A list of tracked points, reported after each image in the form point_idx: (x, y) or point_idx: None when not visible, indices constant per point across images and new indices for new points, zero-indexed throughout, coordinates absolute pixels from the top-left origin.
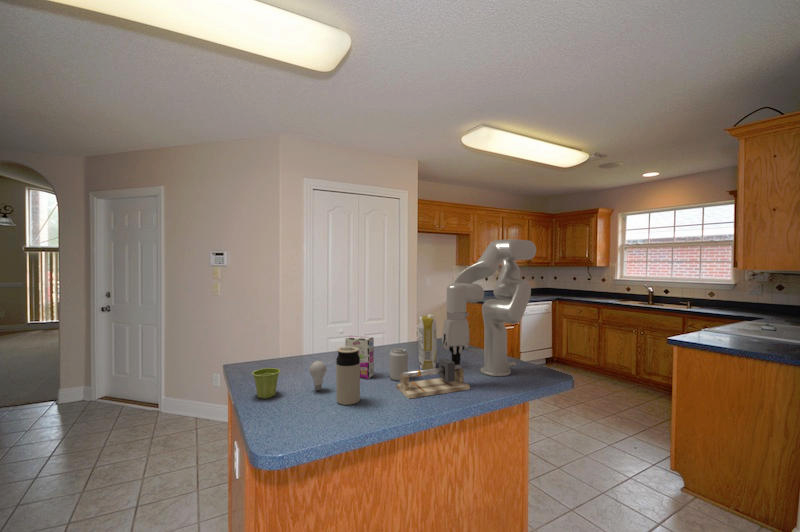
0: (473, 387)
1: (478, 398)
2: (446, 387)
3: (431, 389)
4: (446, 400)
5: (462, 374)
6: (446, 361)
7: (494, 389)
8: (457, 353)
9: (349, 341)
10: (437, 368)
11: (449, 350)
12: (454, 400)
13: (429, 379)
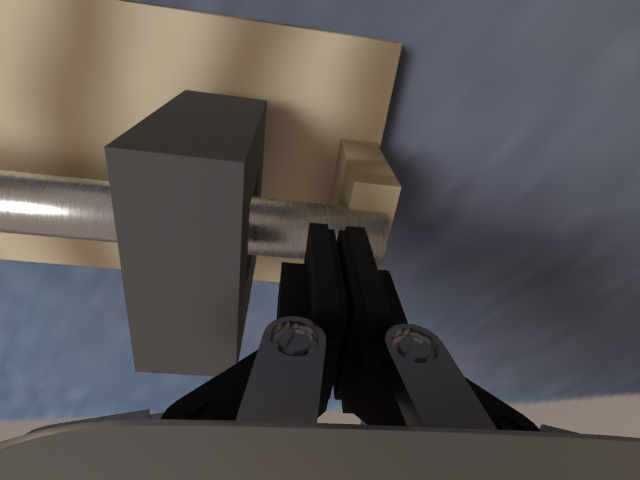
0: (395, 255)
1: None
2: None
3: (44, 236)
4: (116, 335)
5: None
6: (158, 311)
7: (469, 327)
8: (349, 386)
9: None
10: (67, 229)
11: (210, 391)
12: None
13: (110, 3)
